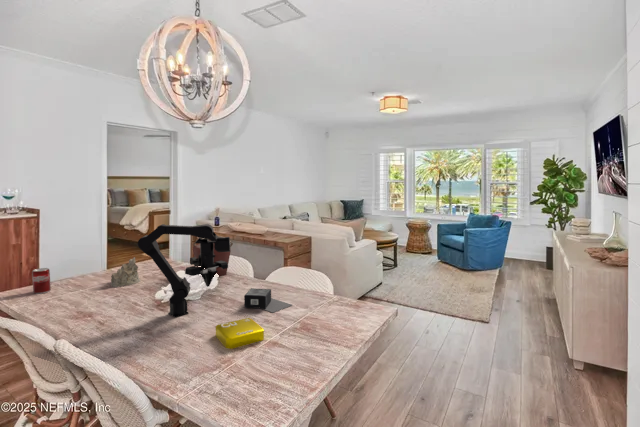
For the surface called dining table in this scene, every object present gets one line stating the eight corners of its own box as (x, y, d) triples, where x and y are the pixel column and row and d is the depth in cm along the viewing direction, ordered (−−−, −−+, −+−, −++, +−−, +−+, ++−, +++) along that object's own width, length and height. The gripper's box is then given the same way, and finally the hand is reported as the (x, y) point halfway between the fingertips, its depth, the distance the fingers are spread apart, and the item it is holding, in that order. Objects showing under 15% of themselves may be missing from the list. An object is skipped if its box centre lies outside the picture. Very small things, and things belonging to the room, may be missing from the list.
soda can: (35, 290, 188) (34, 268, 186) (52, 289, 191) (51, 267, 190) (31, 294, 181) (29, 272, 180) (48, 293, 184) (47, 270, 183)
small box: (266, 309, 165) (271, 301, 175) (265, 296, 164) (271, 288, 174) (244, 308, 166) (251, 300, 176) (243, 294, 165) (250, 287, 175)
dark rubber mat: (272, 313, 161) (272, 312, 161) (249, 304, 171) (249, 304, 171) (292, 305, 171) (292, 304, 171) (269, 298, 181) (269, 297, 181)
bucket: (238, 271, 231) (238, 234, 228) (220, 281, 210) (219, 239, 207) (206, 268, 237) (205, 232, 235) (185, 277, 216) (184, 237, 214)
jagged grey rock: (135, 276, 216) (133, 253, 214) (143, 283, 204) (141, 258, 202) (106, 283, 206) (103, 258, 203) (113, 290, 194) (110, 264, 191)
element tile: (227, 351, 126) (227, 338, 125) (214, 335, 138) (214, 323, 137) (265, 340, 134) (265, 328, 134) (250, 327, 146) (250, 315, 146)
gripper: (214, 247, 170) (215, 278, 172) (178, 253, 156) (179, 287, 158) (228, 250, 163) (229, 283, 165) (191, 257, 149) (192, 292, 151)
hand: (207, 286), depth 160 cm, fingers closed
